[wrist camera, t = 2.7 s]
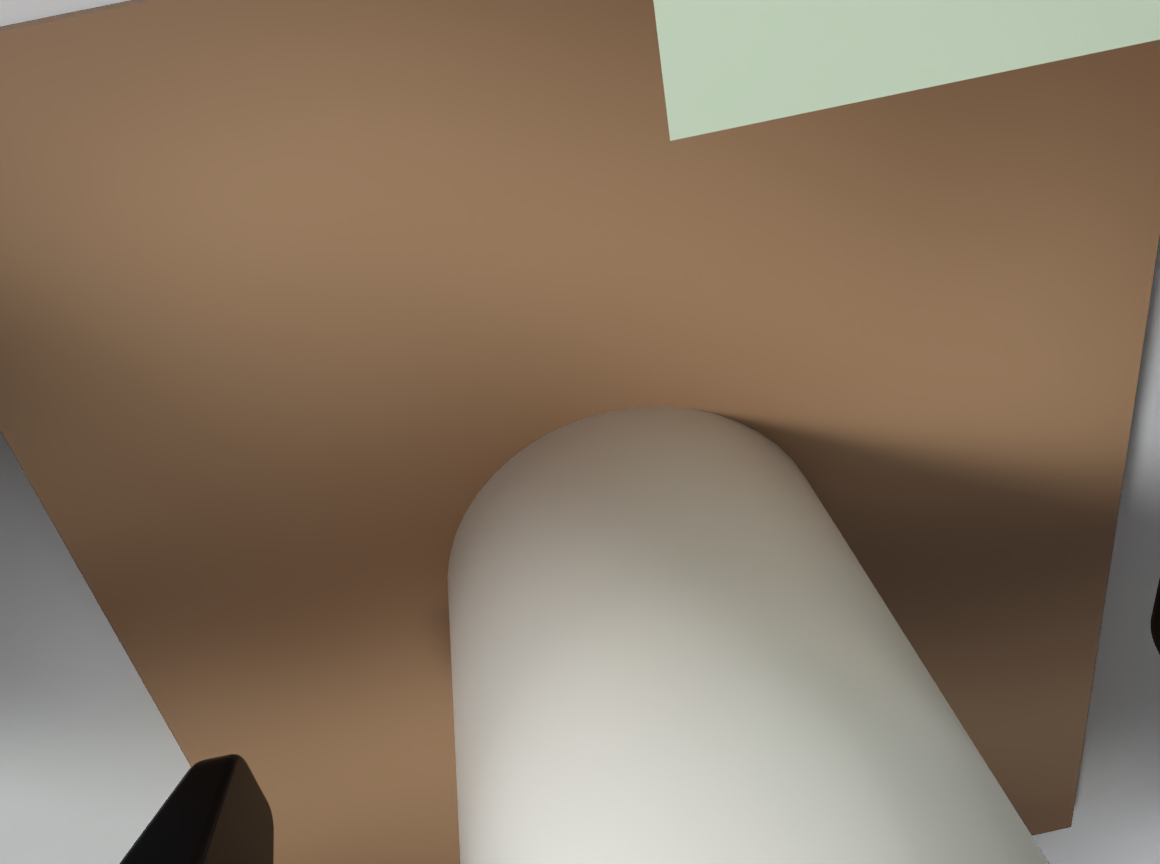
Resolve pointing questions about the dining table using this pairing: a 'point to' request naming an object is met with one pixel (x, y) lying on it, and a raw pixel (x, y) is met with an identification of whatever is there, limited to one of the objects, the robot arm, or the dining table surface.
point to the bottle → (693, 668)
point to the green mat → (863, 49)
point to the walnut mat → (545, 352)
